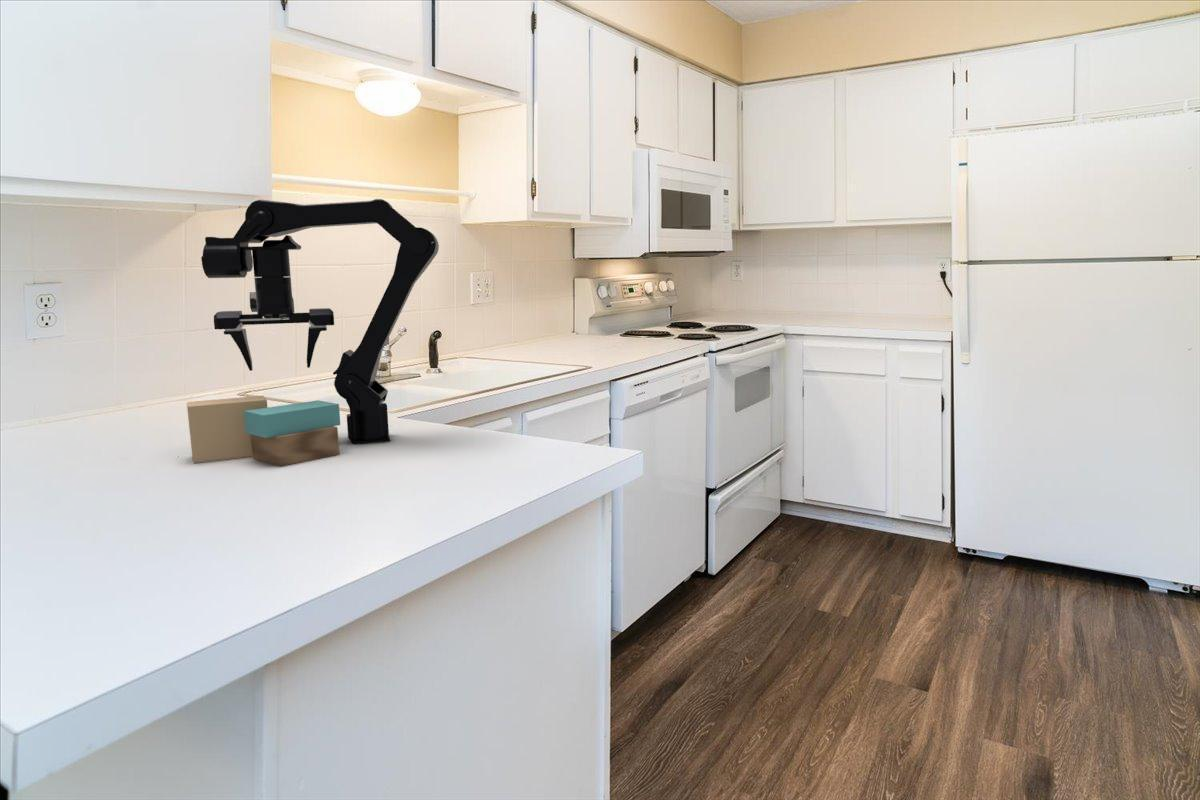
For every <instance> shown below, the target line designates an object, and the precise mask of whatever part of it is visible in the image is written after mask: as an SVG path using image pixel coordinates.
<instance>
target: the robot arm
mask: <svg viewBox="0 0 1200 800" xmlns="http://www.w3.org/2000/svg"><path fill="white" fill-rule="evenodd" d="M244 216H245V217H244V218H245V219H244V221H243V223H242V224H241V225H240V227H239V228H238V230H237V232H236V233H235V235H233V237H218V236H217V237H216V236H206V237H204V240H205V245H204V246H203V249H202V256H201V257H200V260H201V265H202V269H203V273H204V274H205V277H207V278H208V279H231V278H232V279H237V278H239V279H242V278H246V277H247V275H248V272H250V273H251V272H252V270H253V276H254V288H255V291H250V292H249V308H250V312H251V313H253V314H249V313H248V314H247V313H246V314H245V313H244V314H243V311H242V310H227V311H226V310H223V311H217V312H216V313H214V315H213V326H214V330H224V331H223V335H229V336H231V338H232V339H233V340H232V341H234V343H235V344H236V346H237V347H238V349H239V351H240V353H241V355H242V357H243V359H244V361H245V364H246V366H247V369H248V371H250V372H251V371H253V370H254V369H253V359H252V356H251V355H252V354H251V352H250V351H251V349H250V346H249V341H248V336H247V328H243V327H244V326H247V325H249V326H250V325H280V324H304V323H305V324H306V323H307V324H309V325H310V326H309V327H308V329H307V330H308V331H307V346H306V347H307V348H306V349H307V350H306V368H309V369H310V368H311V363H312V360H313V355H314V351H315V347H316V344H317V342H318V339H319V337H320V334H321V332H325V331H327V329H328V328H327V326H335V317H334V315H335V314H334V311H333V310H332V309H331V308H330V307H329V308H328V307H326V308H324V307H322V308H319V307H318V308H309V309H308V312H295V304H294V303H295V302H294V298H293V288H292V287H293V286H292V278H291V265H290V264H291V263H290V252H289V251H293V250H294V251H297V250H301V249H302V246H301V245H300V244H298V243H297V242H296V241H295V240H294V239H293V237H292V235H290V234H294V233H297V232H300V231H304V230H308V229H311V228H326V227H342V226H343V227H345V226H357V225H371V224H378V225H379V227H381V228H382V229H383V230H384V231H386V232H387V233H388V235H390V236H391V237H392V238H394V240H396V241H397V242H398V243H399V248H398V251H397V255H396V260H395V266H394V271H393V274H392V276H391V278H390V281H389V282H388V285H387V287H386V289H385V291H384V293H383V296H382V298H381V299H380V301H379V304H378V305H377V307H376V310H375V311H374V314H373V316H372V319H371V321H370V323H369V325H368V327H367V329H366V331H365V333H364V335H363V337H362V340H360V341H361V342H359V345H358V346H357V348H356V349H355V350H351V349H348V350H347V351H345V352H342V354H341V359H340V361H339V364H338V367H337V368H336V369H335V370H334V371H333V373H332V375H335V377H334V380H333V381H334V382H333V386H334V388H335V392H336V393H337V394H338V395H339V396H340V397H341V398H343V399H344V400H345V401H346V404H347V406H348V408H349V413H348V414H346V425H347V426H346V427H347V429H346V430H347V439H348V440H349V441H350V442H351V445H362V444H372V443H374V442H375V443H384V442H386V441H387V442H391V436H390V431H389V429H390V428H389V415H388V405H387V403H386V399H387V396H388V392H389V391H388V389H387V388H385V387H384V386H383V385H382V384H381V383H379V381H378V380H376V377H377V374H378V371H379V365H380V363H381V362H380V361H381V358H382V357H381V356H382V353H383V350H384V348H385V347H386V344H387V342H388V340H389V338H390V336H391V334H392V332H393V330H394V328H395V325H396V324H397V321H398V319H399V318H400V315H401V313H402V312H403V309H404V306H405V304H406V302H407V300H408V299H409V297H410V294H411V292H412V290H413V288H414V286H415V284H416V283H417V281H418V280H419V279H420V278H421V276H422V274H423V273H424V272H425V271H426V270H427V268H428V267H429V266H430V265H431V263H432V262H433V260H434V259H435V257H436V256H437V255H438V252H439V248H440V247H439V246H440V245H439V241H438V238H437V237H436V235H435V234H434V233H432V232H431V231H429V230H428V229H427V228H424V227H416V226H415V225H414V224H413V223H412V222H410V221H409V220H408V219H406V218H405V217H404V216H403V215H402V214H401V213H399V212H398V211H397V210H396V209H395V208H394V207H393V206H392V205H391V204H390V203H389V202H388V201H387V200H384V199H383V198H375V199H372V200H362V201H345V202H344V201H342V202H328V203H326V202H325V203H314V204H312V203H311V204H300V203H292V202H285V201H284V202H283V201H276V200H267V199H266V200H265V199H257V200H254V201H252V202H251V203H250V204H249V205H248V207H247V208H246V210H245V214H244ZM282 236H284V237H283V238H282V239H270V237H272V238H278V237H282ZM249 244H262V245H261V246H260V245H259V246H249Z"/></svg>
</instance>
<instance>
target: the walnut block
mask: <svg viewBox="0 0 1200 800" xmlns="http://www.w3.org/2000/svg"><path fill="white" fill-rule="evenodd" d="M338 431H339V429H338V427H337V426H332V427H327V428H321V429H315V430H309V431H303V432H298V433H292V434H286V435H280V436H274V437H268V438H264V437H260V436H256V435H252V434H251V443H252V454H253V456H252V459H255V460H258V461H261V462H265V463H268V464H271V465H275V466H279V467H283V466H288V465H293V464H299V463H303V462H308V461H312V460H317V459H323V458H327V457H333V456H337V455H340V446H339V445H340V444H339V433H338Z"/></svg>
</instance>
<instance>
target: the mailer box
mask: <svg viewBox="0 0 1200 800" xmlns="http://www.w3.org/2000/svg"><path fill="white" fill-rule="evenodd" d="M261 408H268V400H267V399H266V397H265V396H264V395H255V396H246V397H245V396H244V397H233V398H231V397H230V398H220V399H210V400H196V401H195V400H194V401H186V409H187V410H186V411H187V419H188V420H187V421H188V428H189V438H190V448H191V457H192V462H193V464H198V463H199V464H200V463H206V462H207V463H208V462H218V461H222V460H223V461H224V460H225V461H226V460H233V459H241V458H250V457H253V454H252V443H251V434H248V433H246V432H245V421H244V411H247V410H254V409H261Z"/></svg>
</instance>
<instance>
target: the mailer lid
mask: <svg viewBox="0 0 1200 800" xmlns="http://www.w3.org/2000/svg"><path fill="white" fill-rule="evenodd" d="M244 421H245V432H246V433H248V434H252V435H256V436H260V437H264V438H268V437H274V436H280V435H286V434H292V433H298V432H303V431H309V430H315V429H321V428H327V427H332V426H334V427H337V426H341V413H340V404H339V403H334V402H329V401H325V400H324V401H323V400H319V399H318V400H311V401H304V402H298V403H289V404H283V405H275V406H267V408H261V409H254V410H247V411H244Z"/></svg>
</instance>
